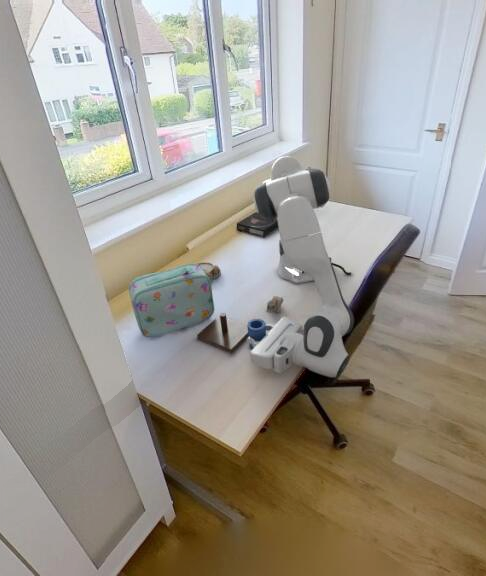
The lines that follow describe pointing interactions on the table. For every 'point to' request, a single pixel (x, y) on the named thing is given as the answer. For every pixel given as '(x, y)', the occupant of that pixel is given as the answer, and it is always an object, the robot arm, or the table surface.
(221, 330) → the platform
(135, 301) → the lunch box
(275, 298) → the toy character
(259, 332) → the blue faceted hollow tube
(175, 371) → the table surface
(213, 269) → the alarm clock
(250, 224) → the portable cd player
